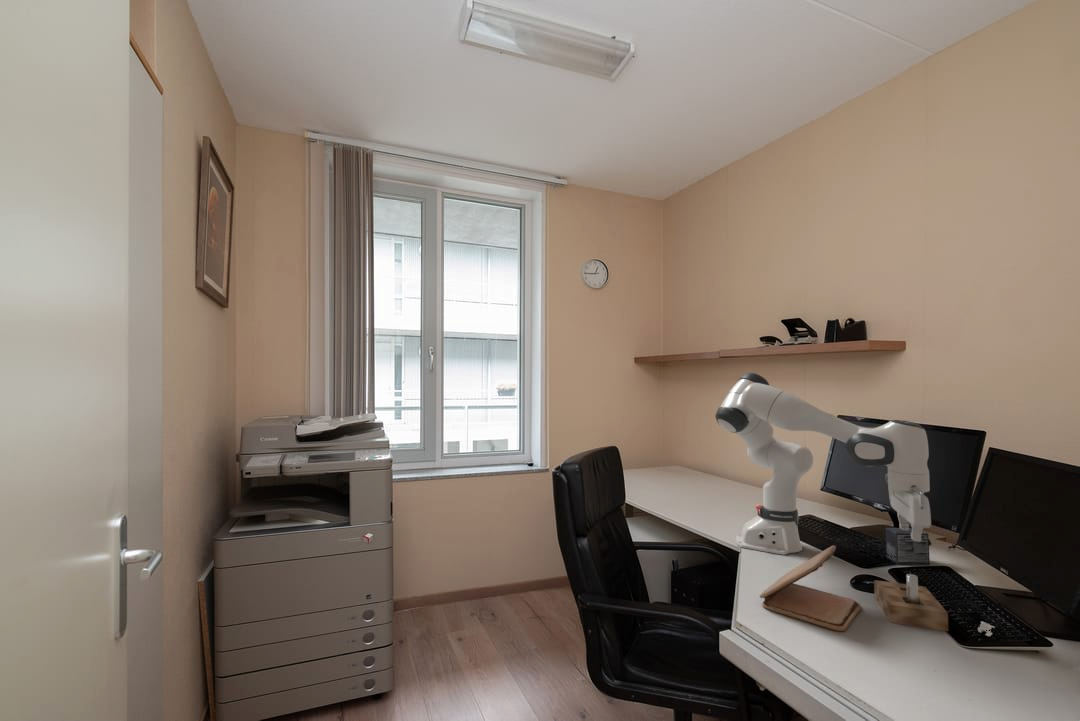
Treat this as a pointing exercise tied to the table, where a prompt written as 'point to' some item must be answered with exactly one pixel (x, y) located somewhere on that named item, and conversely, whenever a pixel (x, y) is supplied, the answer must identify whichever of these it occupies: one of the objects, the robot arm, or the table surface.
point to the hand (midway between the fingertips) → (910, 534)
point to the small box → (907, 547)
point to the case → (810, 598)
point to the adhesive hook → (985, 628)
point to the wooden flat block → (910, 606)
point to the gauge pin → (912, 588)
